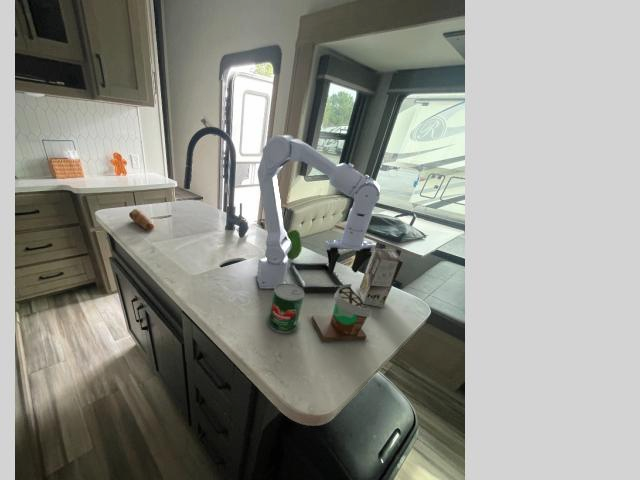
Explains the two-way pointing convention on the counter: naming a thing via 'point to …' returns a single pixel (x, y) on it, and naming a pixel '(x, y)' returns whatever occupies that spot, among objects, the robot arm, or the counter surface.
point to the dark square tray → (315, 288)
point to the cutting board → (332, 330)
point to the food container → (348, 312)
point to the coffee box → (379, 276)
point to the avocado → (294, 244)
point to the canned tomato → (286, 307)
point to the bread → (141, 219)
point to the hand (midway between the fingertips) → (342, 270)
